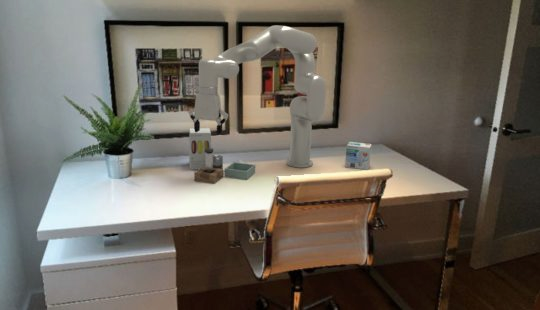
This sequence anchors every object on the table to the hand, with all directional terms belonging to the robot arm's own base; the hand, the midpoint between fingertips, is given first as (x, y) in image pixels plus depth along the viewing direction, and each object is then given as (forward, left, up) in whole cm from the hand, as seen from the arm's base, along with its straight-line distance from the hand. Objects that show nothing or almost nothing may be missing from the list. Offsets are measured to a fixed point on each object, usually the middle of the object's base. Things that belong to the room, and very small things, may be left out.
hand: (208, 132), depth 193 cm
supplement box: (-14, -11, -20) cm, 27 cm away
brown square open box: (0, 0, -20) cm, 20 cm away
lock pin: (0, 0, -20) cm, 20 cm away
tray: (-10, +10, -20) cm, 25 cm away
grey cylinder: (-9, -1, -20) cm, 22 cm away
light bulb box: (-42, +56, -20) cm, 73 cm away
